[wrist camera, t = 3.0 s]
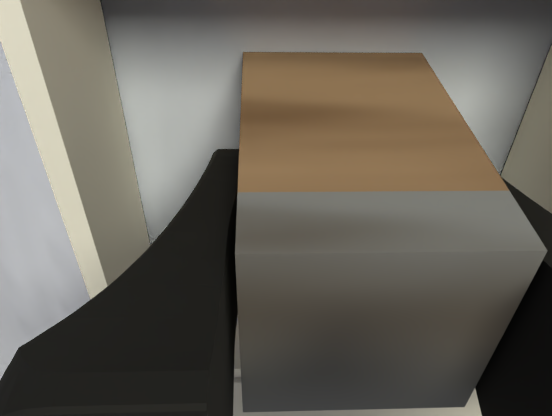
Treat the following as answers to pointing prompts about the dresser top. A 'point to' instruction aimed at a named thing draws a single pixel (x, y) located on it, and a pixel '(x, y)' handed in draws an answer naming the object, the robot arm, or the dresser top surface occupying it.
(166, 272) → the robot arm
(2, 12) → the carton
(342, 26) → the dresser top surface
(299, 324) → the walnut block
